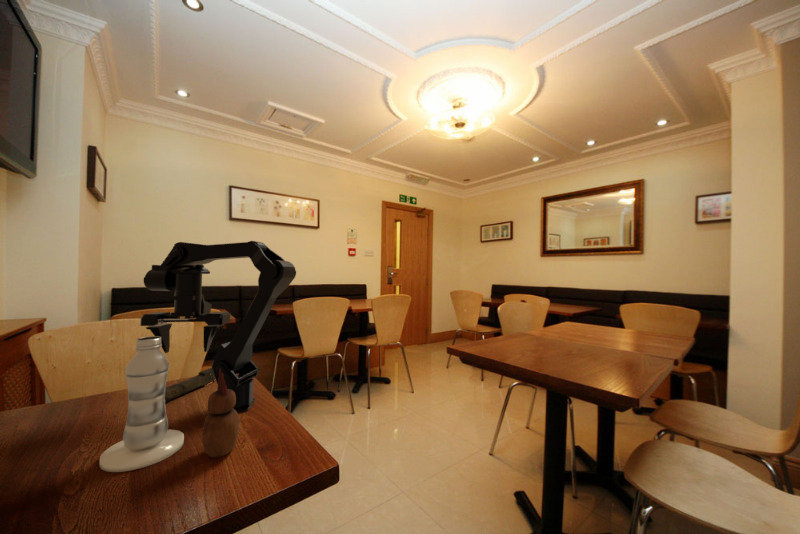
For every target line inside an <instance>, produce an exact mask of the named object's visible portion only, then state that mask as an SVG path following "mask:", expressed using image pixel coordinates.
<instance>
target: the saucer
mask: <svg viewBox="0 0 800 534" xmlns="http://www.w3.org/2000/svg"><path fill="white" fill-rule="evenodd" d="M184 444H185V434H184V433H183V432H182V431H180V430H177V429H169V428H168V430H167V434H166V436H165V437H164V439H163V440H162V441H161V442H160V443H158V444H156V445H154V446H152V447H149V448H146V449H142V450H129V449H128V448H126V447H125V445H124V441H123V440H121V441H118V442H117V443H114V444H113V445H112V446H110V447H108V448H107V449H105V451H103V452H102V453H101V454H100V457H99V468H100V469H101V470H103V471H104V472H108V473H124V472H131V471H134V470H139V469H143V468H146V467H149V466H152V465H155V464H157V463H160V462H161V461H164V460H166V459H168V458H169V457H171V456H172V455H174V454H175V453H177V452H178V451H180V450H181V448H182V447H183V445H184Z"/></svg>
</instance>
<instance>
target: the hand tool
mask: <svg viewBox="0 0 800 534" xmlns="http://www.w3.org/2000/svg"><path fill="white" fill-rule="evenodd" d="M210 374H211V375H210ZM215 379H216V378H215V374H214V372H213V369H212V367H210V368H206V369H204V370H201V371H200V372H198V375H195V376H193V377H191V378H188V379H185V380H183V381H180V382H178V383H174V384H172V385H169V386H166V390H165V403H169V402H171V400H173V399H175V398H178V397H180V396H182V395H185V394H187V393H189V392H191V391H194V390H196V389H198V388H202V387H201V386H205V385H207V384H208V383H210V382H212V381H214V380H215Z"/></svg>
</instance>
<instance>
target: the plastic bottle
mask: <svg viewBox="0 0 800 534" xmlns="http://www.w3.org/2000/svg"><path fill="white" fill-rule="evenodd" d="M135 344H136V346H135V351H136V352H135V353H136V354H134V356H133V357H132V358H131V359H130V360H128V361H129V362H128V363H127V364H126V367H125V371H124V373H125V380H126V386H127V396H128V397H127V398H128V400H127V401H128V408H127V416H126V423H125V426H124V431H123V434H122V441H124V445H125V447H126V448H128V449H129V450H142V449H146V448H149V447H152V446H154V445H156V444H158V443H160V442H161V441H162V440H163V439H164V437H165V436H166V434H167V430H168V429H169V422H168V421H169V420H168V416H167V408H166V402H165V390H166V387H167V380H168V374H169V368H170V362H169V359H168V357H167V356H166V353H165V352H164V351H162V350H161V348H162V344H161V337H160V336H154V335H153V336H143V337H139V338H137V339H136V342H135Z"/></svg>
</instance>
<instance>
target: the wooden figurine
mask: <svg viewBox="0 0 800 534" xmlns="http://www.w3.org/2000/svg"><path fill="white" fill-rule="evenodd" d="M235 404H236V395H235V392H234V391H233V390H231V389H227V387H226V385H225V380H224V377H223V373H222V374H221V369H219V378H218V384H217V390H216V391H214V392H212V393H211V394H210V395H209V397H208V399H207V410H208V412H209V413H208V415H207V416H206V417H205V419H204V423H203V428H202V445H203V449H204V452H205V454H206V455H207V456H208V457H211V458H220V457H224V456H226V455H227V454H230V452H232V451H233V449H234V448H235V446H236V443H237V439H238V436H239V431H240V430H239V427H240V426H239V423H240V419H239V413H238V411H237V412H236V410H235V409H233V408H234V406H235Z"/></svg>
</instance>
